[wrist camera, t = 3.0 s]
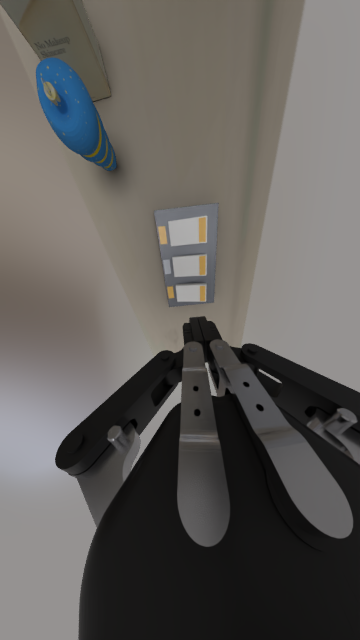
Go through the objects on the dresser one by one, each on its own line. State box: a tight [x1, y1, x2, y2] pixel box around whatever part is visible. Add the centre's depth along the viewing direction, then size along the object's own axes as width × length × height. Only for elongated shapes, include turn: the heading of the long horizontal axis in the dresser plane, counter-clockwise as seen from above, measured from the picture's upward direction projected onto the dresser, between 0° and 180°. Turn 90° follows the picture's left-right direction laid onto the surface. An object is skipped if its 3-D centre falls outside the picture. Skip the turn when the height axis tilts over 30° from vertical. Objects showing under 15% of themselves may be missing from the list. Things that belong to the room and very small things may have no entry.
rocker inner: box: [168, 216, 207, 246], centre depth 24 cm, size 4×7×2 cm, turn 95°
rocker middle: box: [172, 254, 207, 277], centre depth 28 cm, size 4×7×2 cm, turn 95°
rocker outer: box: [176, 283, 207, 302], centre depth 31 cm, size 4×7×2 cm, turn 95°
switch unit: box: [154, 203, 218, 307], centre depth 30 cm, size 20×12×4 cm, turn 6°
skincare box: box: [0, 0, 111, 101], centre depth 13 cm, size 6×4×12 cm
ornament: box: [36, 57, 117, 171], centre depth 17 cm, size 5×5×15 cm
